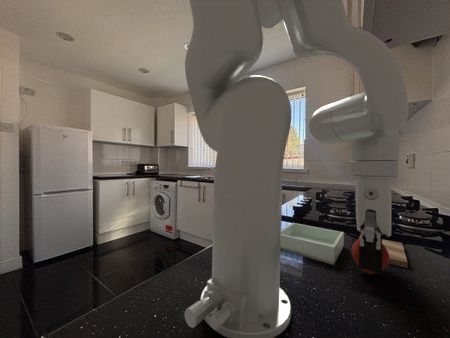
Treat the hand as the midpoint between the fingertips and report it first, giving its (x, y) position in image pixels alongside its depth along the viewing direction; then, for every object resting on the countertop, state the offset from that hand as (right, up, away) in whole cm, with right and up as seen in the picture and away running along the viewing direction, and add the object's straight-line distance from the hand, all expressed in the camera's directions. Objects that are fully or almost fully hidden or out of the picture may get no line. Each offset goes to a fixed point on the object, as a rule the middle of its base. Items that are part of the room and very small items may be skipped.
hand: (371, 259), depth 38 cm
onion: (0, -3, 0) cm, 3 cm away
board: (+10, -3, +11) cm, 15 cm away
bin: (-7, -2, +12) cm, 14 cm away
